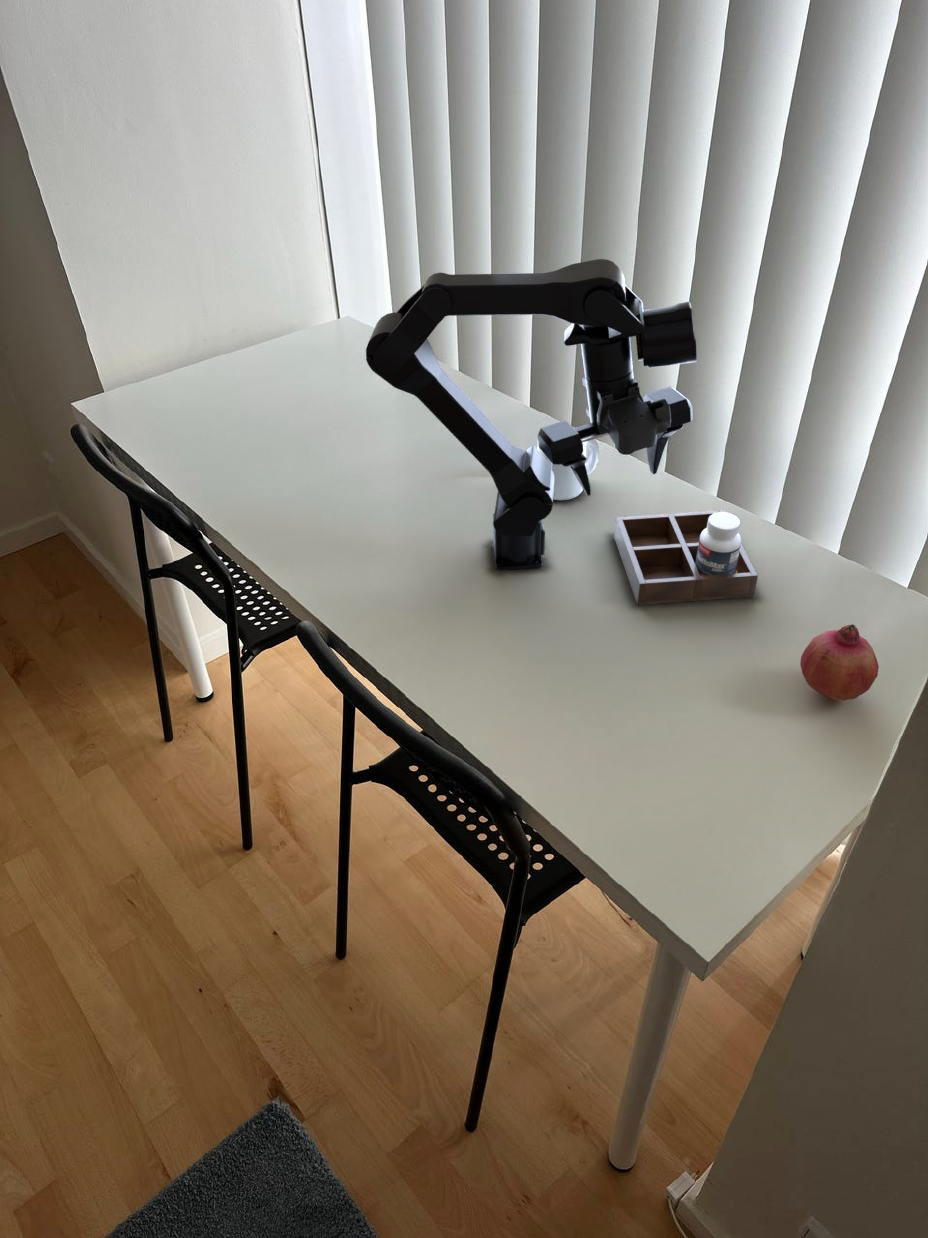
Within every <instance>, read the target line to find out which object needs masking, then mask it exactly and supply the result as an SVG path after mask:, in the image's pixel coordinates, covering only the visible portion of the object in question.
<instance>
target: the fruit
mask: <svg viewBox="0 0 928 1238" xmlns="http://www.w3.org/2000/svg"><path fill="white" fill-rule="evenodd" d="M799 664H800V670H801V674H802V675H803V678H804V680H805V681H806V683H807V684H808V685H809V687H810V688H811V689H812V690H814V691H816V692H817V693H819V694H820V695H822V696H824V697H827V698H829V699H832V700H836V701H850V700H855V699H857V698H858V697H860V696H862V695H863V694H865V693H866V692H868V691H869V690H870V689H871V687H872V686H873V684H874V683H875V680H876V679H877V678H878V675H879V662H878V659H877V656H876V654H875V651H874V649H873V646H872V645H871V644H870V642H869V641H868V639H866V638H864V637H863V636H861V635H860V631H859V628H858V627H856V625H855V624H854V623H853V624H852V623H851V624H847V625H844V626H842V627H840V629H832V630H825V631H824V632H822V633H820V634H818V635H816V636H814V637H813V638H812V639H811V640H810V641H809V643H808V645H807V646H806V647H805V649H804V651H803V652H802V655H801V657H800V661H799Z"/></svg>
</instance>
